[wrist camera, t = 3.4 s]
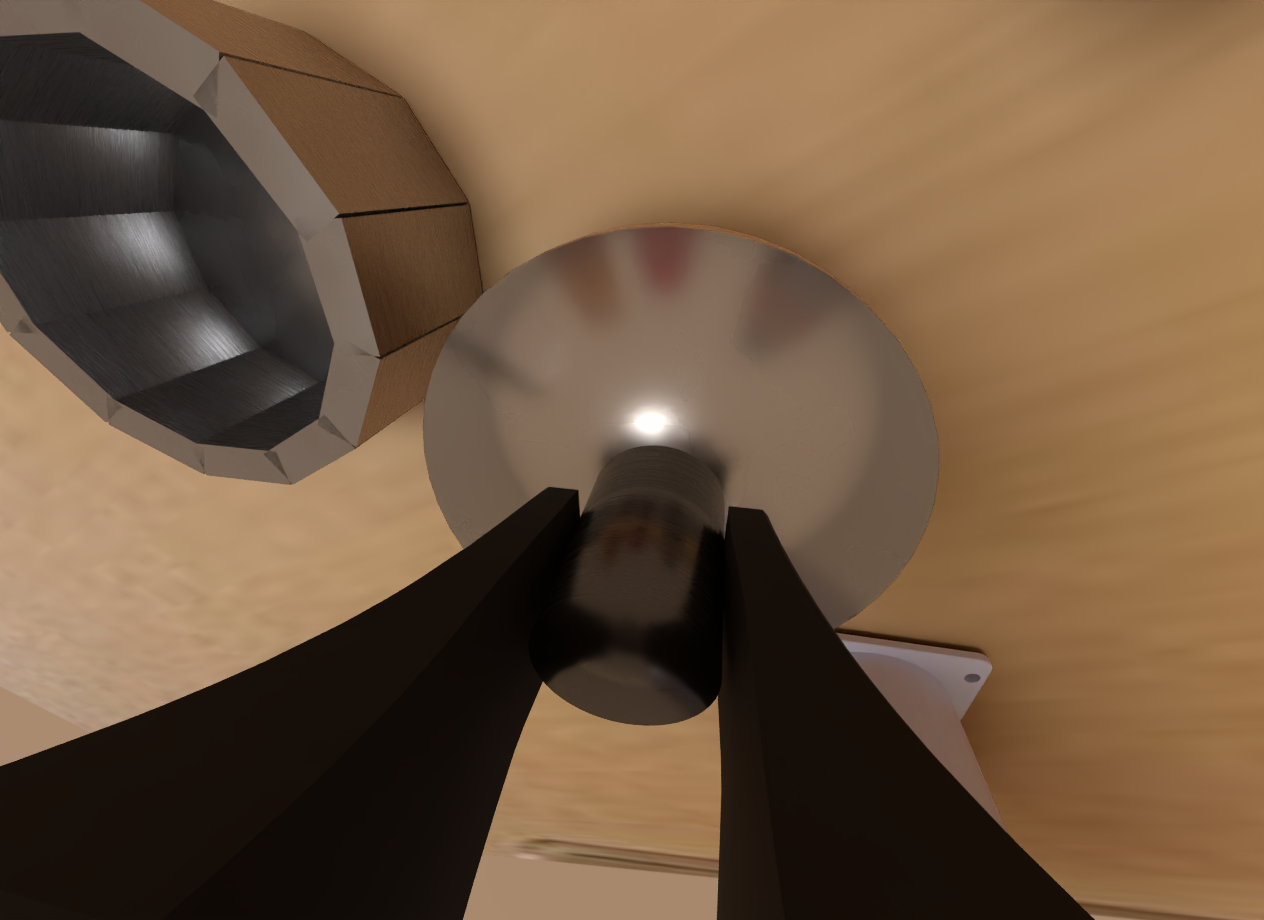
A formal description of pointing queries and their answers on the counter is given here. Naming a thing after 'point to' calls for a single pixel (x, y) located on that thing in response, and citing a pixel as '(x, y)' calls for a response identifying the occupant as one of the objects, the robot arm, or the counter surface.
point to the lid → (678, 445)
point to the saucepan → (221, 231)
